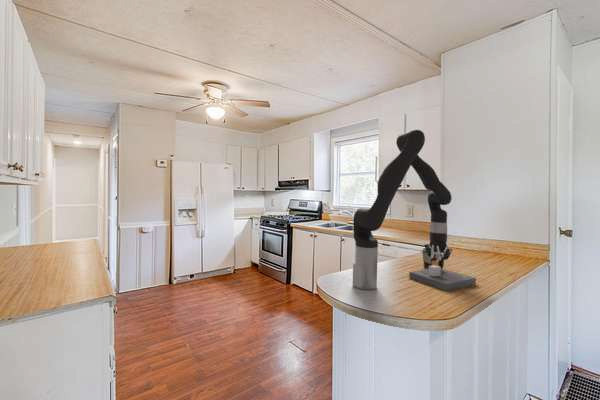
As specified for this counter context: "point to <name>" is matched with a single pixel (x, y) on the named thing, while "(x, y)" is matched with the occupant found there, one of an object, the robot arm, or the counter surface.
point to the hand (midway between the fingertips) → (437, 266)
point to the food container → (428, 258)
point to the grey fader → (434, 270)
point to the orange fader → (436, 263)
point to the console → (443, 279)
